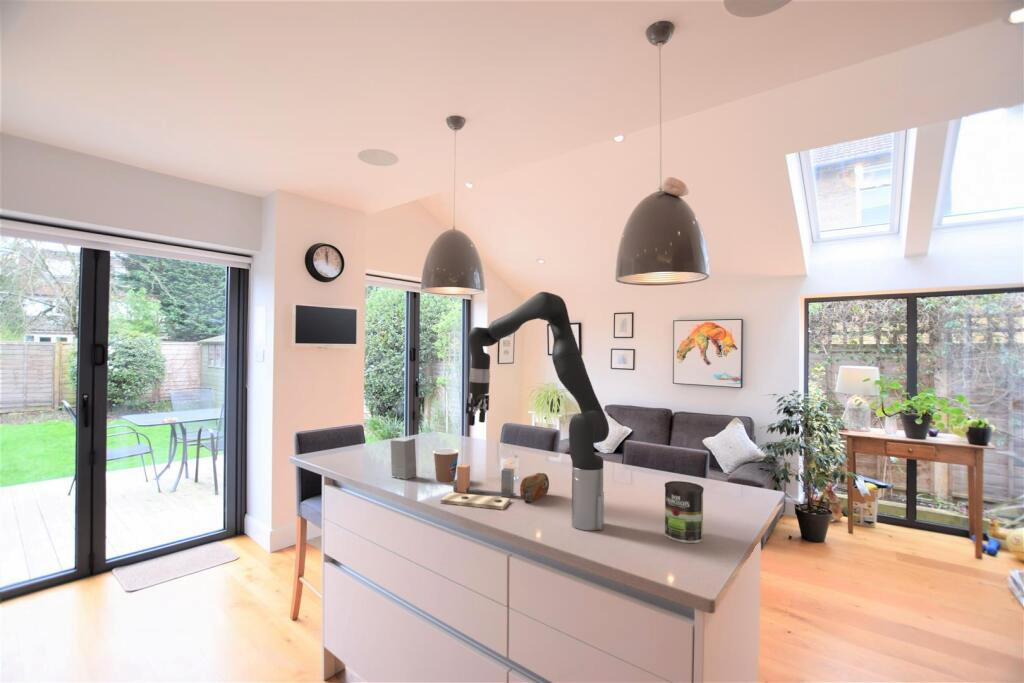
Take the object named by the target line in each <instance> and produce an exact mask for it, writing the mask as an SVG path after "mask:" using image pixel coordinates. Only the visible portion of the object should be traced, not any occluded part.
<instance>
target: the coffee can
mask: <svg viewBox="0 0 1024 683" xmlns="http://www.w3.org/2000/svg"><path fill="white" fill-rule="evenodd" d="M704 489H705V488H704V486H703V485H700V484H698V483H693V482H689V481H682V480H680V481H679V480H672V481H667V482H665V483H664V491H665V492H664V495H665V496H664V500H665V501H664V508H665V509H664V536H665V537H667V538H668V539H670V540H672V541H673V542H678V543H683V544H699V543H701V542H703V541H704Z"/></svg>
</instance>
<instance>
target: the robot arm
mask: <svg viewBox="0 0 1024 683" xmlns="http://www.w3.org/2000/svg"><path fill="white" fill-rule="evenodd" d="M537 319H539V320H542V321H545V322H546V321H547V324H549V326H550V330H551V332H552V336H553V345H552V352H551V353H552V354H551V356H552V362H553V363H552V364H553V367H554V369H555V372H556V374H557V375H556V376H557V378H558V380H559V382H560V383H561V384H562V385H563V387H564V388H565V389H566V390H567V391H568V392H569V393H570V394H571V396H572V397H573V398H574V399H575V401H576V403H577V405H578V407H579V410H580V412H581V413H576V414H574V415H573V416H572V417H571V419H570V421H569V424H568V443H569V456H570V459H571V526H572V527H573V528H575V529H578V530H583V531H602V530H603V528H604V524H605V523H604V522H605V521H604V520H605V510H604V509H605V491H604V459H603V457H602V456H601V455H597V454H596V453H595V446H594V445H595V444H598V443H602V442H604V441H606V440H607V438H608V437H609V433H610V426H609V421H608V419H607V417H606V414H605V412H604V410H603V408H602V406H601V404H600V401H599V400H598V396H597V395H596V393H595V390H594V388H593V385H592V383H591V379H590V378H589V374H588V370H587V369H586V365H585V363H584V360H583V356H582V354H581V352H580V349H579V347H578V344H577V343H578V342H577V340H576V337H575V334H574V331H573V329H572V326H571V321H570V316H569V311H568V308H567V304H566V302H565V301H564V298H562V297H561V296H560V295H558V294H555V293H551V292H548V291H540V292H538V293H536V294H534V295H533V296H532V297H530V298H529V299H528V300H526V301H525V302H524V303H523V304H521V305H520V306H518V307H517V308H515V309H514V310H512V311H511V312H509V313H507V314H505V315H503V316H501V317H499V318H497V319H495V320H493V321H491V322H490V324H489V326H488V327H479V326H477V327H476V326H475V327H473V328H472V329H471V330H470V331H469V334H468V338H467V340H468V346H469V350H470V352H469V353H470V355H471V363H470V371H469V383H468V393H470V394H471V397H470V396H469V397H467V398H466V405H465V414H467V415H468V425H469V426H471V427H473V426H475V424H476V414H477V411H479V414H478V422H479V423H483V424H484V423H485V422H486V413H487V411H489V409H490V395H489V393H490V378H491V373H490V372H491V371H490V369H491V368H490V366H491V356H490V354H489V353H487V352H485V350H484V347H491V346H494V345H495V344H497V343H499V341H500V340H502V339H503V338H506V337H508V336H511V335H512V334H514V333H516V332H517V331H519V329H520V328H521V327H522V326H523V325H524V324H525V323H527V322H530V321H533V320H537Z"/></svg>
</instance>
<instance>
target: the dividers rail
mask: <svg viewBox="0 0 1024 683" xmlns="http://www.w3.org/2000/svg"><path fill="white" fill-rule="evenodd" d="M500 473H501V480H500V482H501V485H500V491H495V490H488V489H487V490H486V489H476V488H475V489H474V488H470V489H467V492H472V493H471V494H477V493H481V494H480V495H487V494H490V495H489V496H497V495H498V496H497V497H501V498H508V497H510V499H511V498H516V497H517V493H516V492H515V491H514V489H515V486H514V485H515V481H514V480H515V469H514V468H505V467H504V468H503V469H501V472H500ZM452 487H453V489H452V490H453V491H454V492H453V493H458V492H457V483H456V484H455V485H454V486H452ZM467 492H466V493H467ZM515 496H516V497H515Z"/></svg>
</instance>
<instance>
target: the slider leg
mask: <svg viewBox="0 0 1024 683" xmlns="http://www.w3.org/2000/svg"><path fill="white" fill-rule="evenodd" d="M470 482H471V465H469V464H460V465H457V468H456V484H457V492H456V493H462V494H467V489H471V486H470V484H471V483H470Z"/></svg>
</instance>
